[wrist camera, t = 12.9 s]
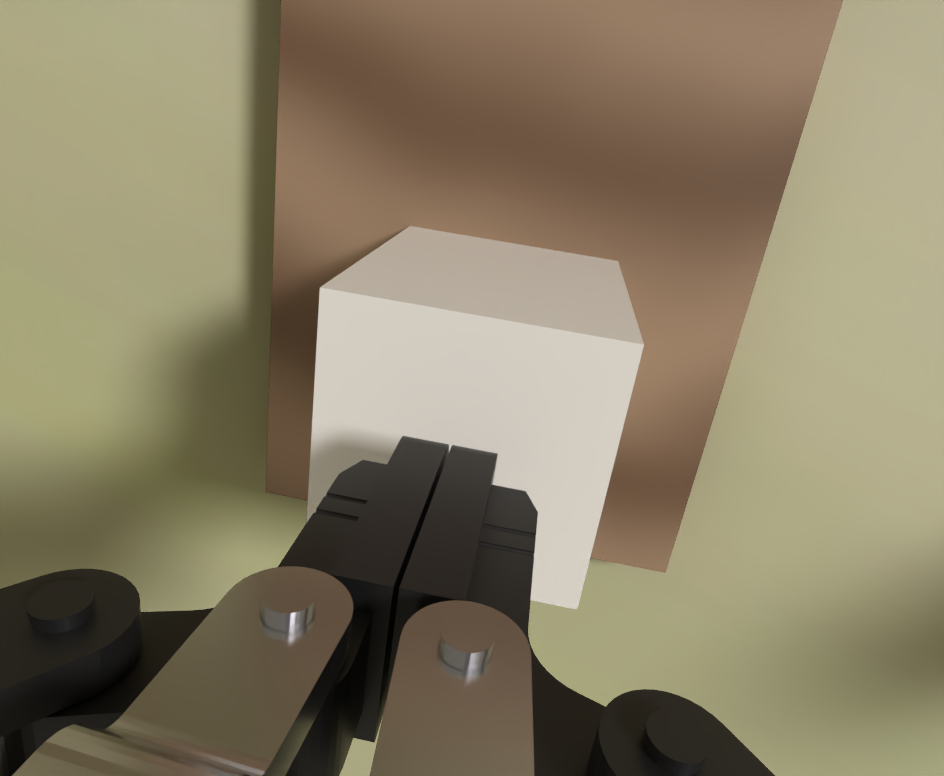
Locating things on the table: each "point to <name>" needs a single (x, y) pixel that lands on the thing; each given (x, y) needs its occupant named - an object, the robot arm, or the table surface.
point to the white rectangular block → (483, 376)
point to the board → (548, 185)
